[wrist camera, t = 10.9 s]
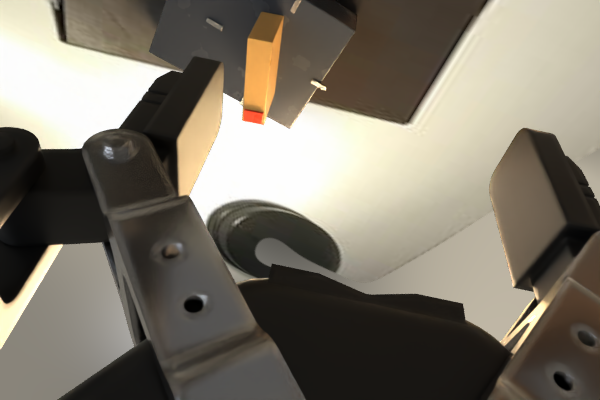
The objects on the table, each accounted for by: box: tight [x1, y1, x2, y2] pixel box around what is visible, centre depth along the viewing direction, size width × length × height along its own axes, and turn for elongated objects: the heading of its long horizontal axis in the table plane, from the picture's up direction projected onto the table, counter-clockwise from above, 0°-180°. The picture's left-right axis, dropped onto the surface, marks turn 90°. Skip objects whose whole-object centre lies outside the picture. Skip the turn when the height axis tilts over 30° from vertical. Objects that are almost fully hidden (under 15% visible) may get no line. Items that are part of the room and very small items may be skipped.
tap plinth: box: [149, 0, 357, 129], centre depth 38 cm, size 15×11×4 cm
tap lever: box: [242, 12, 284, 125], centre depth 36 cm, size 7×2×5 cm, turn 172°
